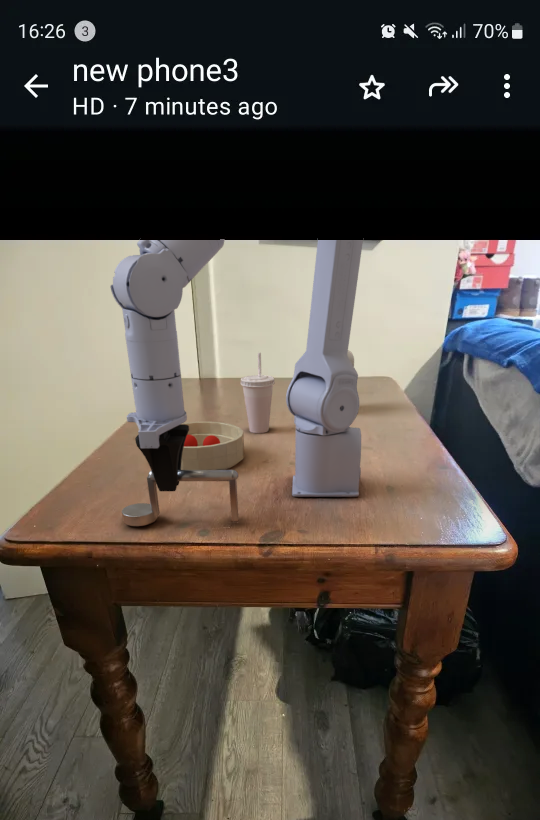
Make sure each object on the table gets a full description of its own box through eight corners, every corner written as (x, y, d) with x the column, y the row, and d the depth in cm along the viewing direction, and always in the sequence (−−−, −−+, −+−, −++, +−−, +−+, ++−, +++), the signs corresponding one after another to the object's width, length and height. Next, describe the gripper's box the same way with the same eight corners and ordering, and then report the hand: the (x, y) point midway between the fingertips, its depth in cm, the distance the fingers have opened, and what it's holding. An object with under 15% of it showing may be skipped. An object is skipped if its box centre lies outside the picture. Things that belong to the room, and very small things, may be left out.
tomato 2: (222, 450, 101) (220, 433, 99) (219, 455, 98) (218, 438, 97) (204, 450, 101) (203, 433, 99) (202, 455, 98) (200, 438, 97)
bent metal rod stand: (119, 526, 75) (110, 476, 71) (128, 512, 79) (120, 464, 75) (238, 526, 74) (235, 476, 71) (241, 512, 78) (239, 464, 74)
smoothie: (281, 431, 112) (281, 353, 105) (254, 437, 109) (251, 357, 102) (263, 424, 117) (261, 349, 110) (236, 429, 114) (232, 353, 107)
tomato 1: (199, 449, 101) (198, 432, 100) (196, 454, 99) (195, 437, 97) (182, 449, 102) (180, 432, 100) (179, 455, 99) (177, 437, 98)
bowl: (247, 446, 104) (246, 421, 102) (239, 475, 92) (238, 447, 89) (164, 446, 105) (161, 421, 103) (144, 475, 92) (140, 447, 90)
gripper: (137, 364, 73) (151, 468, 81) (103, 389, 61) (123, 509, 68) (192, 363, 73) (201, 468, 80) (170, 388, 61) (183, 509, 68)
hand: (169, 487), depth 74 cm, fingers closed on bent metal rod stand
